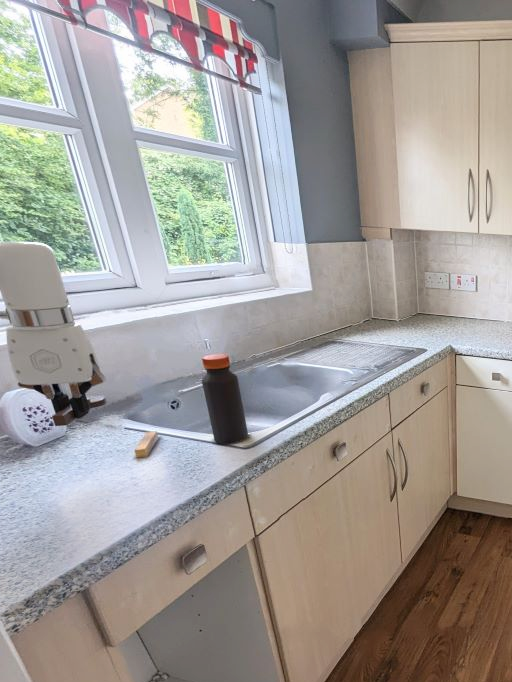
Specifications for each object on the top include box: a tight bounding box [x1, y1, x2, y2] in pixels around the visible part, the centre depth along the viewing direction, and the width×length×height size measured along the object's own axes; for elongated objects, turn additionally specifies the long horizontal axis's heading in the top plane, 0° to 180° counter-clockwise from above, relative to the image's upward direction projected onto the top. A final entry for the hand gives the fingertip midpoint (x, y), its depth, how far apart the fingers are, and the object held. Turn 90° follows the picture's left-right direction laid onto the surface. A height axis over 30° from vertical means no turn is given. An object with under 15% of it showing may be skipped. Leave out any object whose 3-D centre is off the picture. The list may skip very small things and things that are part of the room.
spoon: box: [51, 395, 107, 427], centre depth 85 cm, size 13×4×2 cm, turn 20°
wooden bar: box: [134, 430, 159, 458], centre depth 101 cm, size 10×2×2 cm, turn 26°
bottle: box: [201, 353, 249, 445], centre depth 104 cm, size 7×7×20 cm
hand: (74, 415), depth 84 cm, fingers closed on spoon
